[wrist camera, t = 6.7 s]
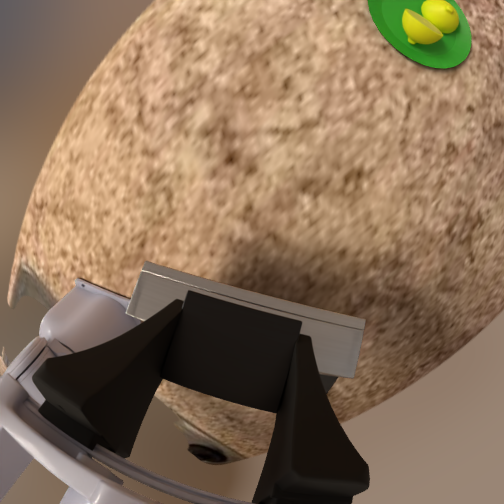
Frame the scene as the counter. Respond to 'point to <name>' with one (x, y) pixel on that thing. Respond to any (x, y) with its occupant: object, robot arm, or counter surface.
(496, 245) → the counter surface
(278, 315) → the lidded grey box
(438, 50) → the green plate with lemons
